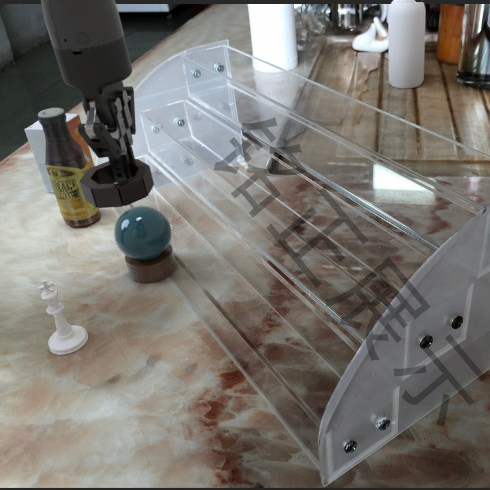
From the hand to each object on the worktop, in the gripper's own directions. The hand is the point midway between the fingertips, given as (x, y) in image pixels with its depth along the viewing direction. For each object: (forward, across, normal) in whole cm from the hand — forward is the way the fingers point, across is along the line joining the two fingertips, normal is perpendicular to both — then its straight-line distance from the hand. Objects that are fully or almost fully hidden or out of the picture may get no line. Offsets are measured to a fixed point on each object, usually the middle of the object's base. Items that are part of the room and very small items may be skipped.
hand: (127, 177), depth 74 cm
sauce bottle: (+19, -22, -19) cm, 35 cm away
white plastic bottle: (+19, -82, +43) cm, 95 cm away
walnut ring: (0, +3, 0) cm, 3 cm away
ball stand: (+19, -7, -3) cm, 20 cm away
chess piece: (+19, +9, -10) cm, 23 cm away
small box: (+19, -36, -26) cm, 49 cm away
